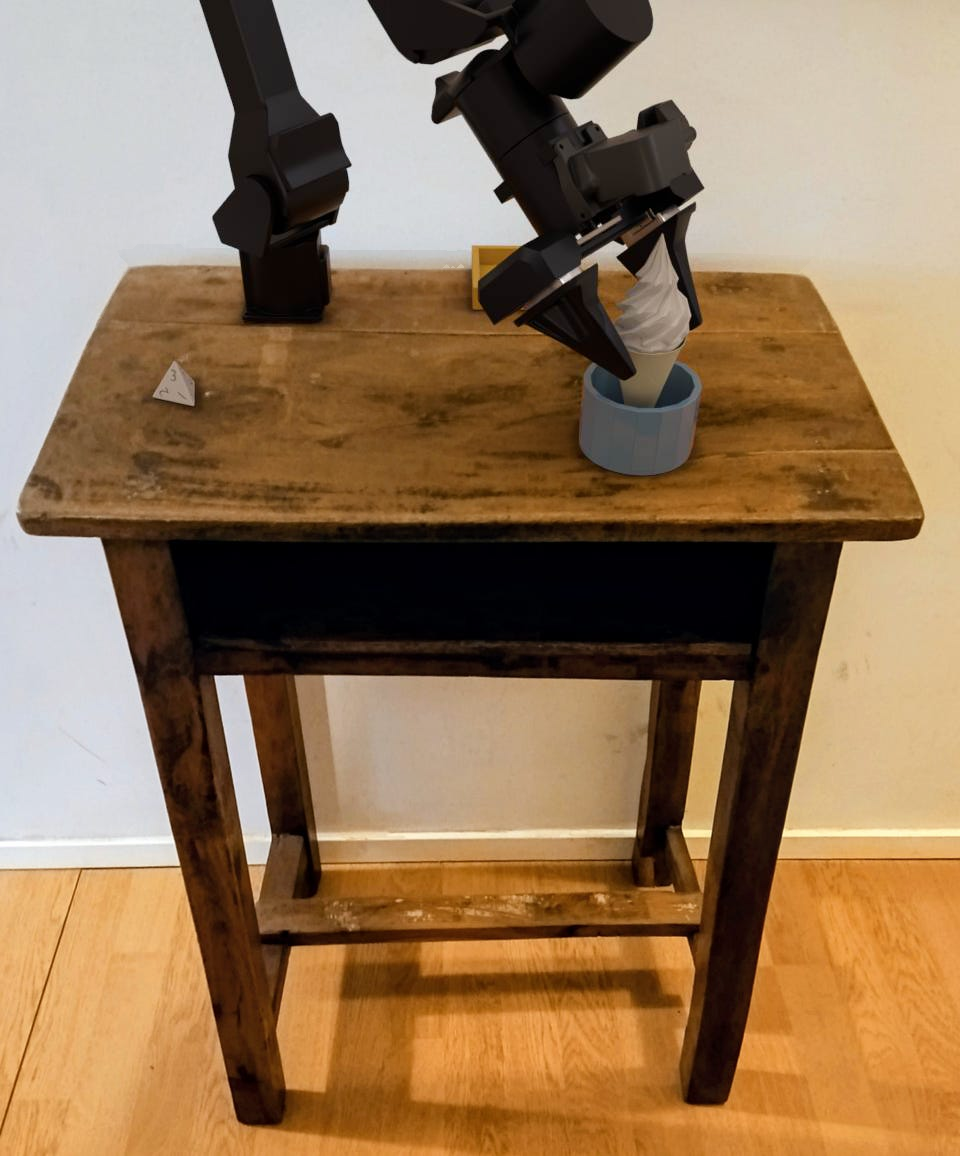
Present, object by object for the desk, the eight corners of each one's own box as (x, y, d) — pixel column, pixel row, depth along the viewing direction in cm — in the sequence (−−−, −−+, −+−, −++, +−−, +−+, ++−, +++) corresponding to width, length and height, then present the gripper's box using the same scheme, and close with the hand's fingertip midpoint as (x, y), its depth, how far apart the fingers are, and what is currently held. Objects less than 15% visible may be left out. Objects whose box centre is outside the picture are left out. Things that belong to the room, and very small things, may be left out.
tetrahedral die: (213, 400, 86) (215, 360, 85) (193, 406, 83) (195, 365, 82) (172, 391, 86) (174, 351, 85) (151, 397, 84) (152, 357, 83)
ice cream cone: (675, 461, 78) (707, 251, 69) (601, 459, 78) (621, 249, 69) (668, 421, 82) (696, 217, 72) (596, 419, 82) (615, 215, 72)
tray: (472, 309, 95) (472, 287, 94) (471, 266, 102) (471, 245, 100) (583, 310, 96) (585, 288, 94) (575, 267, 102) (577, 245, 100)
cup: (583, 475, 77) (589, 411, 74) (574, 413, 83) (579, 351, 80) (699, 475, 77) (710, 412, 74) (682, 413, 83) (691, 352, 80)
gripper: (524, 105, 61) (681, 356, 63) (697, 29, 72) (825, 244, 74) (412, 212, 69) (554, 430, 71) (582, 130, 81) (700, 319, 83)
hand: (664, 351), depth 75 cm, fingers open, 8 cm apart
